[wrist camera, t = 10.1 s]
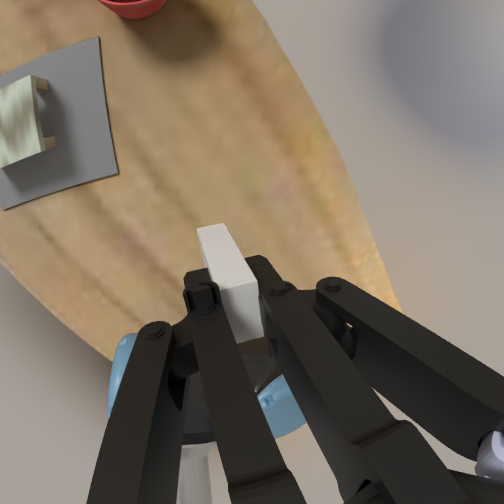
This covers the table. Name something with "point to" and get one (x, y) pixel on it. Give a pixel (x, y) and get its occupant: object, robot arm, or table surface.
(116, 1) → the flower pot
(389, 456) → the robot arm
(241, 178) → the table surface
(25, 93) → the stool
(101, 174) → the mat
